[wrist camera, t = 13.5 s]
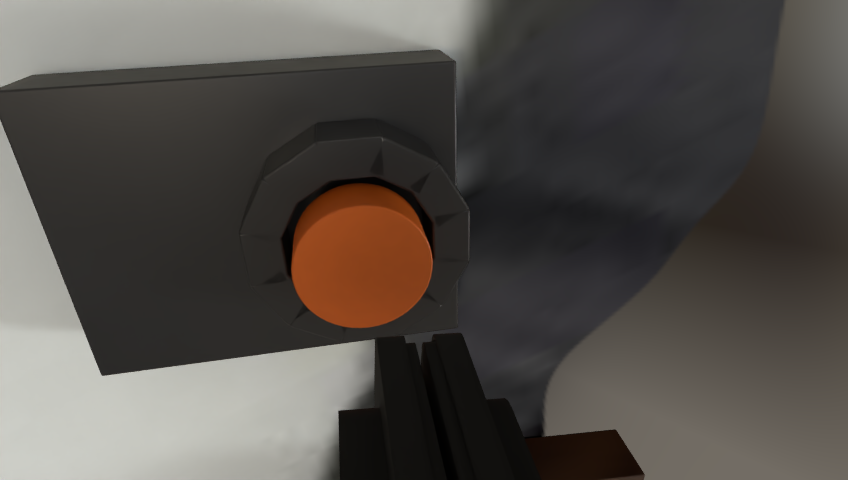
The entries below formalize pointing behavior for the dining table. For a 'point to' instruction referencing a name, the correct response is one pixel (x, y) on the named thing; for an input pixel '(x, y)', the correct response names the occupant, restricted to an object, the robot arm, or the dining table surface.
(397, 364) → the robot arm
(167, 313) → the switch base
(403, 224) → the switch
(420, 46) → the dining table surface
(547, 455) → the dial panel
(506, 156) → the dining table surface
